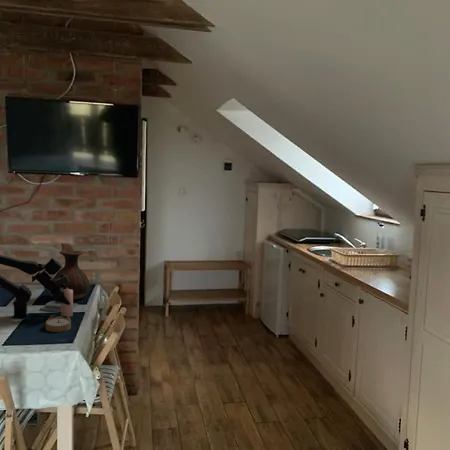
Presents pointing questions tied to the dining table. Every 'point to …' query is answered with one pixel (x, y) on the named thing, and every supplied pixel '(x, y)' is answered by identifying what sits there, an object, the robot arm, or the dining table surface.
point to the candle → (64, 307)
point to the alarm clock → (58, 323)
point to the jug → (73, 272)
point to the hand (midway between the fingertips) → (70, 302)
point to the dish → (54, 306)
